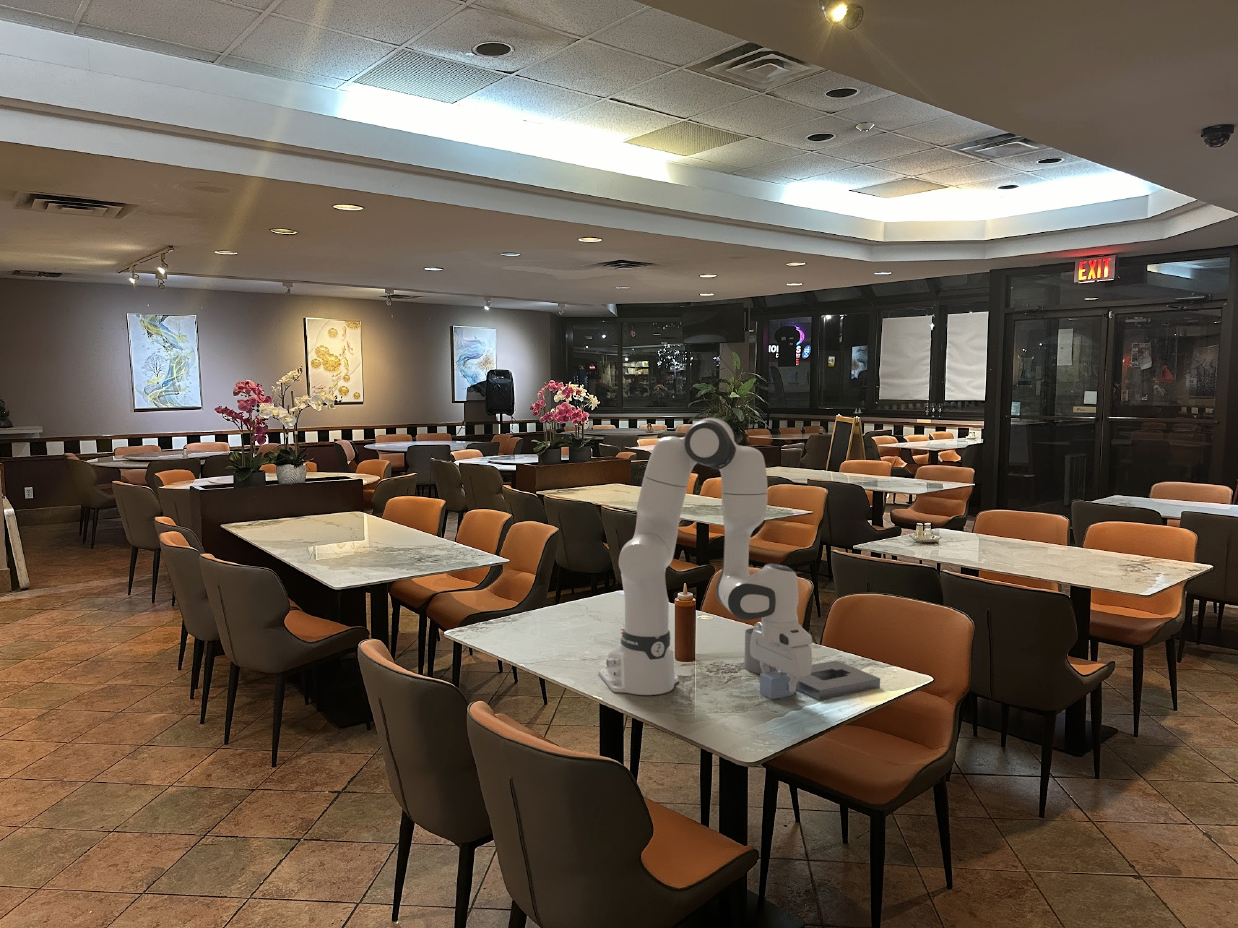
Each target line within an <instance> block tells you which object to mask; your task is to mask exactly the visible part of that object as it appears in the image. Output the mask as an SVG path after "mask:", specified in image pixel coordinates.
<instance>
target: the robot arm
mask: <svg viewBox="0 0 1238 928" xmlns="http://www.w3.org/2000/svg"><path fill="white" fill-rule="evenodd" d="M697 464H699V465H701V466H706V467H709V468H712V469H715V470H718V471H719V472H720V477H721V509H722V518H723V526H724V527H723V528H724V536H723V537H724V539H723V562H722V569H721V572H720V574H719V577H718V579H717V581H716V585H715V595H716V599H717V600H718V602H719V604H721V605H722V606H723V607H724V608H725V609H727V610H728V612H730V613H731V614H732V615H733V616H735V618H737V619H739V620H743V621H752V620H757V619H761V622H760V621H757V622H756V623H755V624H754V625H753V627H752V628H753V632H752V635H751V642H750V654H751V656H752V657H753V658H755V659H757V660H759V661H760V667H761V669H762V672H763V673H767V672H770V669H769V665H770V666H772V667H774V668H775V670H781V671H783V672H785V673H787V674H789V678H790V682H789V683H787V684H786V686H787V688H786V689H787V691H789V692H794V693H796V691H797V690H796V684H797V682H798V681H799V679H800V678H806V677H809V676H810V674H811V672H812V665H813V652H812V649H811V646H810V645H811V644H812V642H813V638H812V637H813V636H812V635H811V634H810V633H809V632H808V631H806V630H805V629H804V628H803V626H802V625H801V624H800V623H799V616H798V612H797V611H798V610H797V607H798V605H799V584H798V583H799V582H798V576H797V573H796V572H795V571H794V570H793V569H792V568H790V567H789V566H787V565H782V564H778V563H766V564H765V565H764V566H763V567H762V568H761V569H759V570H758V571H756V572H754V573H752V574H750V570H749V559H750V558H749V557H750V556H749V555H750V554H749V553H750V540H751V537H752V534H753V531H755V529H756V528H757V527H759V526H760V525H761V524H763V522H764V520H765V519H766V515H767V509H768V501H769V500H768V491H769V490H768V476H767V475H768V474H767V467H766V462H765V458H764V455H763V453H762V452H761V451H760V450H759V449H757V448H755V447H753V446H752V447H751V446H749V445H748V446H746V445H744V446H743V445H739V444H737V442H736V436H735V431H734V429H733V427H732V425H730V423H728V422H727V421H725V420H724V419H722V418H718V417H717V418H716V417H706V418H702V419H700V420H698V421H696V422H695V423H692V425H690V426H689V428H688V429H687V430H686V432H685V435H684V436H683V437H678V436H672V435H670V436H663V437H661V438H659V439H658V440H657V441H656V443H655V444H654V447H653V448H652V451H651V454H650V456H649V459H648V462H647V465H646V468H645V472H644V476H643V479H642V483H641V488H640V492H639V496H638V500H637V503H636V511H637V512H636V523H635V524H636V525H635V529H634V530H635V531H634V534H633V537H632V539H630V540H628V541H627V542H626V543H625V544H624V545H623V546H622V548H621V550H620V553H619V557H618V567H619V570H620V576H621V582H622V589H623V596H624V628H623V629H620V631H621V632H620V634H621V639H620V643H619V644H618V645H617V646H615V647H614V648H613V649H612V650H611V651H610V652H609V653H608V656H607V659H606V663H605V664H606V666H605V667H603V668H600V669H598V675H599V676H600V678H601V679H602V680H603V682H605V684H606V685H607V686H608V687H609V689H610V690H611V691H612V692H614V693H627V694H632V695H639V696H652V695H662V694H666V693H668V692H670V691H672V690H673V689H674V687H675V684H677V683H678V682H679V676H677V675H675V674H676V673H675V660H674V659H675V658H674V651H673V650H672V649H671V648H670V646H671V632H670V631H671V630H669V622H670V621H669V618H670V617H669V613H670V601H669V597H668V592H667V585H666V584H667V583H666V569H667V568H668V567H669V566H670V565H671V563H672V562H673V559H674V555H675V551H676V550H675V549H676V544H677V540H678V533H679V526H680V518H681V515H682V510H683V506H684V502H685V498H686V494H687V489H688V486H689V482H690V477H691V475H692V471H693V469H694V467H695V466H696V465H697Z"/></svg>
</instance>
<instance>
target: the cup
mask: <svg viewBox="0 0 1238 928" xmlns="http://www.w3.org/2000/svg"><path fill="white" fill-rule="evenodd" d="M752 632H753V627H750V628H747V629H745V630H744V658H743V659H744V660H743V661H744V666H743V667H744V669H745V670H746V671H748V672H751V673H756V674H761V673H763V672H762V669H761V667H760V661H759V660H757V659H755V658H753V657H752V656H751V654H750V642H751V635H752ZM769 669H770V672H772V671H776V668H774V667H772V666H770V665H769Z"/></svg>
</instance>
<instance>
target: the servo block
mask: <svg viewBox="0 0 1238 928" xmlns="http://www.w3.org/2000/svg"><path fill="white" fill-rule="evenodd" d="M789 682H790V678H789V674H787V673H785V672H783V671H781V670H779V669H777V670H775V671H772V672H767V673H759V694H760V695H761V696H764V697H766V698H767V699H770V700H775V699H779V698H785V697H789V696H795V692H789V691H787V689H786V688H787V686H786V684H787V683H789Z"/></svg>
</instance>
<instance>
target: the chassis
mask: <svg viewBox="0 0 1238 928" xmlns="http://www.w3.org/2000/svg"><path fill="white" fill-rule="evenodd" d="M880 688H881V677H878V676H875V675H873V674H870V673H868V672H866V671H863V670H860V669H858V668H856V667H855V666H854V667H853V666H851V665H848V664H847V663H843V662H841V661H838V660H831V661H825V662H820V663H815V664H813V663H812V672H811V674H810V676H809V677H806V678H800V679H799V681H798V682H797V684H796V691H797V692H798V691H799V692H801V693H802V694H805V695H807V696H809V697H811V698H813V699H815V700H817V701H822V700H829V699H833V698H837V697H841V696H847V695H852V694H857V693H862V692H866V691H871V690H876V689H880Z"/></svg>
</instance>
